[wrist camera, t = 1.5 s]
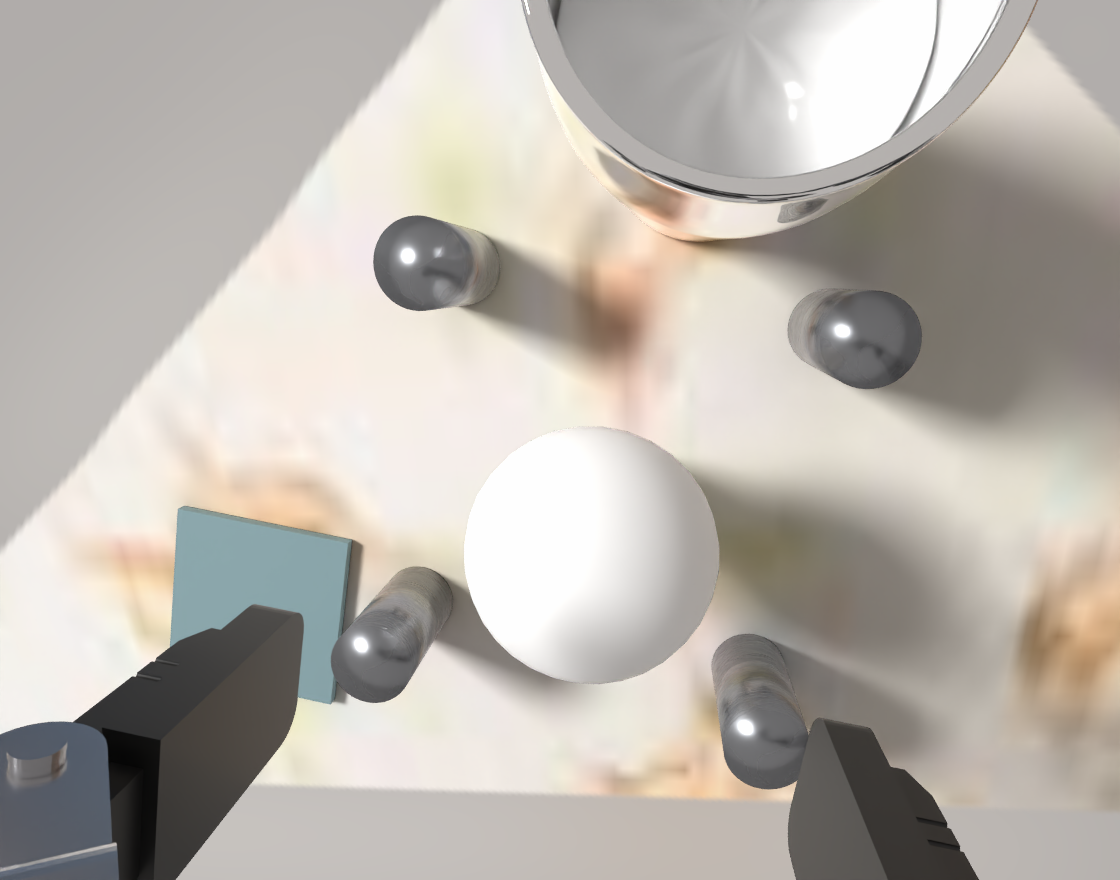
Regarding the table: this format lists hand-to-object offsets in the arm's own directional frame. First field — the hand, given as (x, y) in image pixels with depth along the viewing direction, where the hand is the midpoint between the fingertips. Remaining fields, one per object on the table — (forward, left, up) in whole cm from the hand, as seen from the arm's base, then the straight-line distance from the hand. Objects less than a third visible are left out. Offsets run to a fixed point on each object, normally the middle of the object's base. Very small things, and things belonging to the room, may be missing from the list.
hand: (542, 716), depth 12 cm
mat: (+12, +7, -15) cm, 21 cm away
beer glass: (-1, -11, -15) cm, 19 cm away
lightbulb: (0, 0, -15) cm, 15 cm away
